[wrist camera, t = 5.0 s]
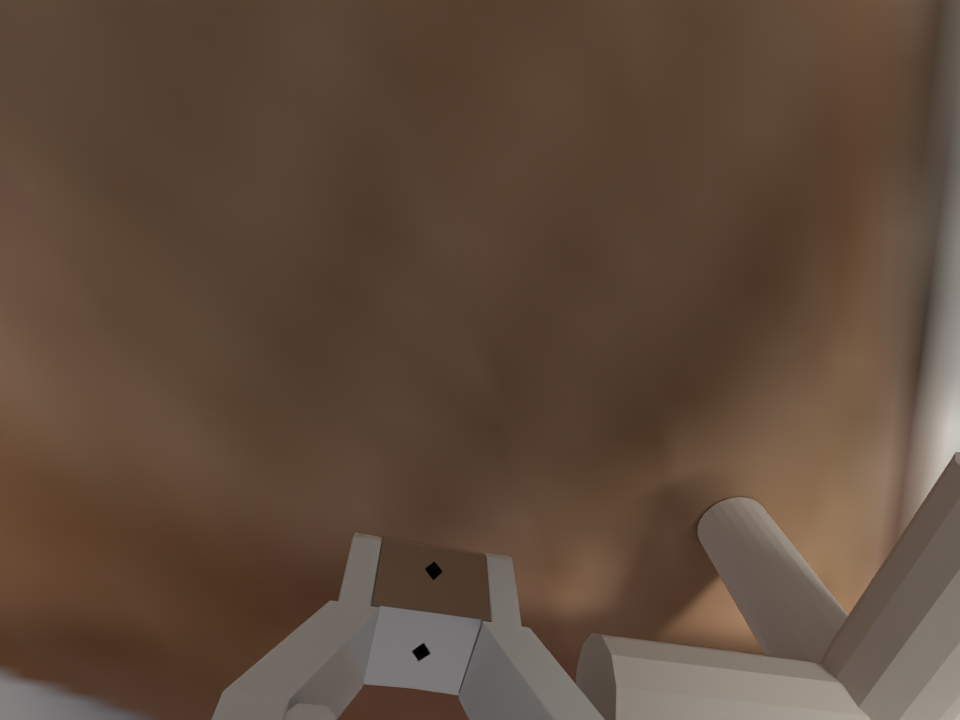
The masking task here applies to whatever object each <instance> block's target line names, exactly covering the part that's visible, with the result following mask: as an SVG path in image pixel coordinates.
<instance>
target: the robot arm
mask: <svg viewBox="0 0 960 720" xmlns="http://www.w3.org/2000/svg"><path fill="white" fill-rule="evenodd" d="M363 684H367V685H378V686H390V687H401V688H412V689H419V690H426V691H432V692H439V693H446V694H453V695H459V697H458V699H459V701H460V703H461V705H462V706H463V708H464V710H465V712H466V714H467V716H468V718H469V720H605V719H604V718H603V717H602V716H601V714H600V713H599V712H598V711H597V709H596V708H595V707H594V706H593V705H592V703H591V702H590V701H589V700H588V698H587V697H586V696H585V695H584V694H583V692H582V691H581V690H580V689H579V687H578V686H577V685H576V684H575V683H574V681H573V680H572V679H571V678H570V676H569V675H568V674H567V673H566V672H565V670H564V669H563V668H562V667H561V665H560V664H559V663H558V662H557V661H556V659H555V658H554V657H553V656H552V654H551V653H550V652H549V651H548V650H547V648H546V647H545V646H544V645H543V643H542V642H541V641H540V640H539V639H538V637H537V636H536V635H535V634H534V632H533V631H532V630H531V629H530V628H529V627H522V624H521V617H520V610H519V602H518V595H517V588H516V581H515V574H514V566H513V560H512V558H511V557H510V556H506V555H499V554H492V553H481V552H474V551H467V550H460V549H454V548H447V547H440V546H432V545H427V544H421V543H416V542H410V541H404V540H399V539H393V538H387V537H378V536H373V535H367V534H362V533H356V532H355V534H354V537H353V540H352V544H351V548H350V552H349V557H348V561H347V565H346V569H345V574H344V578H343V582H342V586H341V591H340V595H339V599H338V601H329V602H327V603H326V604H325V605H324V606H323V607H321V608H320V609H319V610H318V611H317V612H316V613H314V614H313V615H312V616H311V617H310V618H309V619H307V620H306V621H305V622H304V623H303V624H301V625H300V626H299V627H298V628H297V629H296V630H294V631H293V632H292V633H291V634H290V635H289V636H287V637H286V638H285V639H284V640H283V641H281V642H280V643H279V644H278V645H277V646H276V647H274V648H273V649H272V650H271V651H270V652H269V653H267V654H266V655H265V656H264V657H263V658H261V659H260V660H259V661H258V662H257V663H256V664H254V665H253V666H252V667H251V668H250V669H249V670H247V671H246V672H245V673H244V674H243V675H242V676H240V677H239V678H238V679H237V680H236V681H234V682H233V683H232V684H231V685H230V686H229V687H227V688H226V689H225V690H224V691H223V692H222V695H221V697H220V700H219V702H218V705H217V707H216V710H215V712H214V715H213V717H212V719H211V720H337V719H338V717H339V716H340V715H341V714H342V712H343V711H344V710H345V709H346V707H347V706H348V705H349V704H350V702H351V701H352V700H353V699H354V697H355V696H356V695H357V694H358V692H359V691H360V690H361V688H362V687H363Z"/></svg>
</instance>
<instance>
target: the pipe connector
mask: <svg viewBox="0 0 960 720" xmlns="http://www.w3.org/2000/svg"><path fill="white" fill-rule="evenodd" d="M697 534H698V538H699V540H700V542H701V544H702V546H703V548H704V549H705V551H706V553H707V555H708V556H709V558H710V560H711V562H712V563H713V565H714V567H715V569H716V570H717V572H718V574H719V575H720V577H721V579H722V581H723V582H724V584H725V586H726V588H727V589H728V591H729V593H730V595H731V596H732V598H733V600H734V602H735V603H736V605H737V607H738V609H739V610H740V612H741V614H742V615H743V617H744V619H745V621H746V622H747V624H748V626H749V628H750V629H751V631H752V633H753V635H754V636H755V638H756V640H757V642H758V643H759V645H760V647H761V649H762V650H763V652H764V654H765V655H761V654H753V653H745V652H737V651H729V650H721V649H714V648H706V647H698V646H690V645H682V644H675V643H667V642H659V641H651V640H643V639H635V638H628V637H620V636H612V635H604V634H596V633H591V634H590V636H589V637H588V638H587V640H586V641H585V642H584V644H583V645H582V649H581V653H580V657H579V661H578V665H577V669H576V685H577V686H578V687H579V689H580V690H581V691H582V692H583V694H584V695H585V696H586V697H587V698H588V700H589V701H590V702H591V703H592V705H593V706H594V707H595V708H596V709H597V711H598V712H599V713H600V714H601V716H602V717H603V718H604V719H605V720H960V452H956V453H955V454H954V456H953V457H952V459H951V460H950V462H949V463H948V465H947V466H946V468H945V470H944V471H943V473H942V474H941V476H940V477H939V479H938V480H937V482H936V483H935V485H934V486H933V488H932V489H931V491H930V492H929V494H928V495H927V497H926V498H925V500H924V501H923V503H922V504H921V506H920V508H919V509H918V511H917V512H916V514H915V515H914V517H913V518H912V520H911V521H910V523H909V524H908V526H907V527H906V529H905V530H904V532H903V533H902V535H901V536H900V538H899V539H898V541H897V543H896V544H895V546H894V547H893V549H892V550H891V552H890V553H889V555H888V556H887V558H886V559H885V561H884V562H883V564H882V565H881V567H880V568H879V570H878V571H877V573H876V574H875V576H874V578H873V579H872V581H871V582H870V584H869V585H868V587H867V588H866V590H865V591H864V593H863V594H862V596H861V597H860V599H859V600H858V602H857V603H856V605H855V606H854V608H853V609H852V611H851V612H850V614H849V616H848V615H847V614H846V612H845V611H844V610H843V608H842V607H841V606H840V605H839V603H838V602H837V601H836V599H835V598H834V597H833V596H832V594H831V593H830V592H829V591H828V589H827V588H826V587H825V585H824V584H823V583H822V582H821V580H820V579H819V578H818V577H817V575H816V574H815V573H814V571H813V570H812V569H811V568H810V566H809V565H808V564H807V563H806V561H805V560H804V559H803V557H802V556H801V555H800V554H799V552H798V551H797V550H796V549H795V547H794V546H793V545H792V543H791V542H790V541H789V540H788V538H787V537H786V536H785V534H784V533H783V532H782V531H781V529H780V528H779V527H778V526H777V524H776V523H775V522H774V520H773V519H772V518H771V517H770V515H769V514H768V513H767V512H766V510H765V509H764V508H763V506H762V505H761V504H760V503H758V502H757V501H755V500H752V499H749V498H743V497H736V498H730V499H726V500H723V501H721V502H718V503H717V504H715V505H714V506H712V507H711V508H710V509H709V510H707V511H706V512H705V513H704V515H703V516H702V518H701V519H700V521H699V524H698V528H697Z"/></svg>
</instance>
